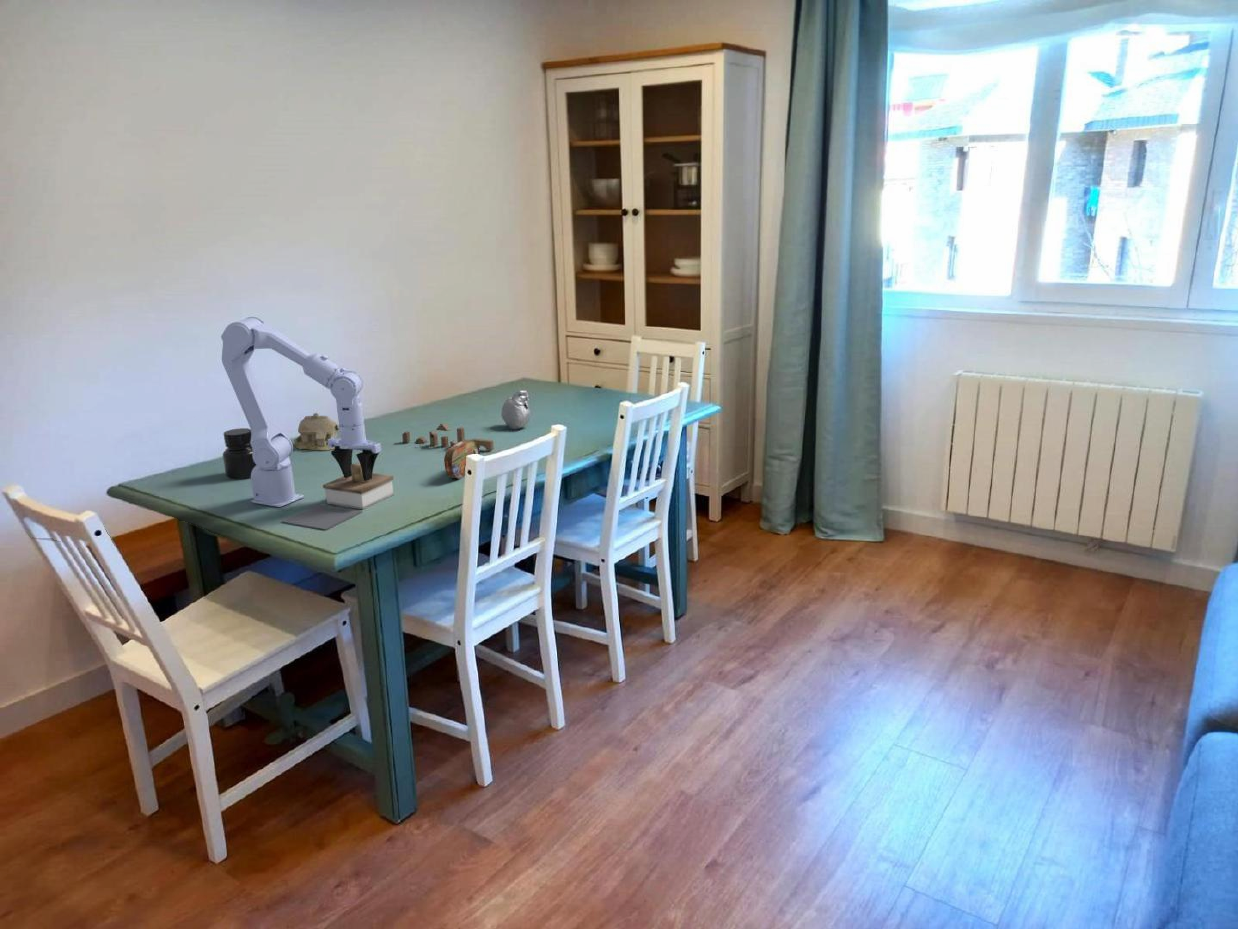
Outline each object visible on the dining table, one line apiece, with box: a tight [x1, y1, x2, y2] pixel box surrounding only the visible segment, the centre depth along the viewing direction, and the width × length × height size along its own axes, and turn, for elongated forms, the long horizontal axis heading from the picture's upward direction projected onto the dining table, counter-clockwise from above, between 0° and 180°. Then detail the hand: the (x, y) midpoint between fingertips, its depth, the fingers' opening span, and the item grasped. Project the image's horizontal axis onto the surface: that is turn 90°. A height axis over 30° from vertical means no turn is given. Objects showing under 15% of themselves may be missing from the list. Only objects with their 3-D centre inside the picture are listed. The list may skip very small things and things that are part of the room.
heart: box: [500, 390, 531, 431], centre depth 269 cm, size 10×10×12 cm
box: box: [325, 480, 394, 511], centre depth 209 cm, size 11×11×4 cm
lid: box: [322, 462, 394, 494], centre depth 208 cm, size 12×12×5 cm
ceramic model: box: [294, 412, 341, 451], centre depth 255 cm, size 14×11×10 cm
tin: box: [443, 438, 481, 480], centre depth 226 cm, size 15×3×8 cm, turn 161°
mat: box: [281, 503, 363, 531], centre depth 199 cm, size 13×12×1 cm
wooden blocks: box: [401, 422, 495, 452], centre depth 251 cm, size 30×3×8 cm, turn 68°
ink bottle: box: [222, 428, 256, 480], centre depth 229 cm, size 10×9×12 cm
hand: (358, 478), depth 208 cm, fingers open, 5 cm apart
